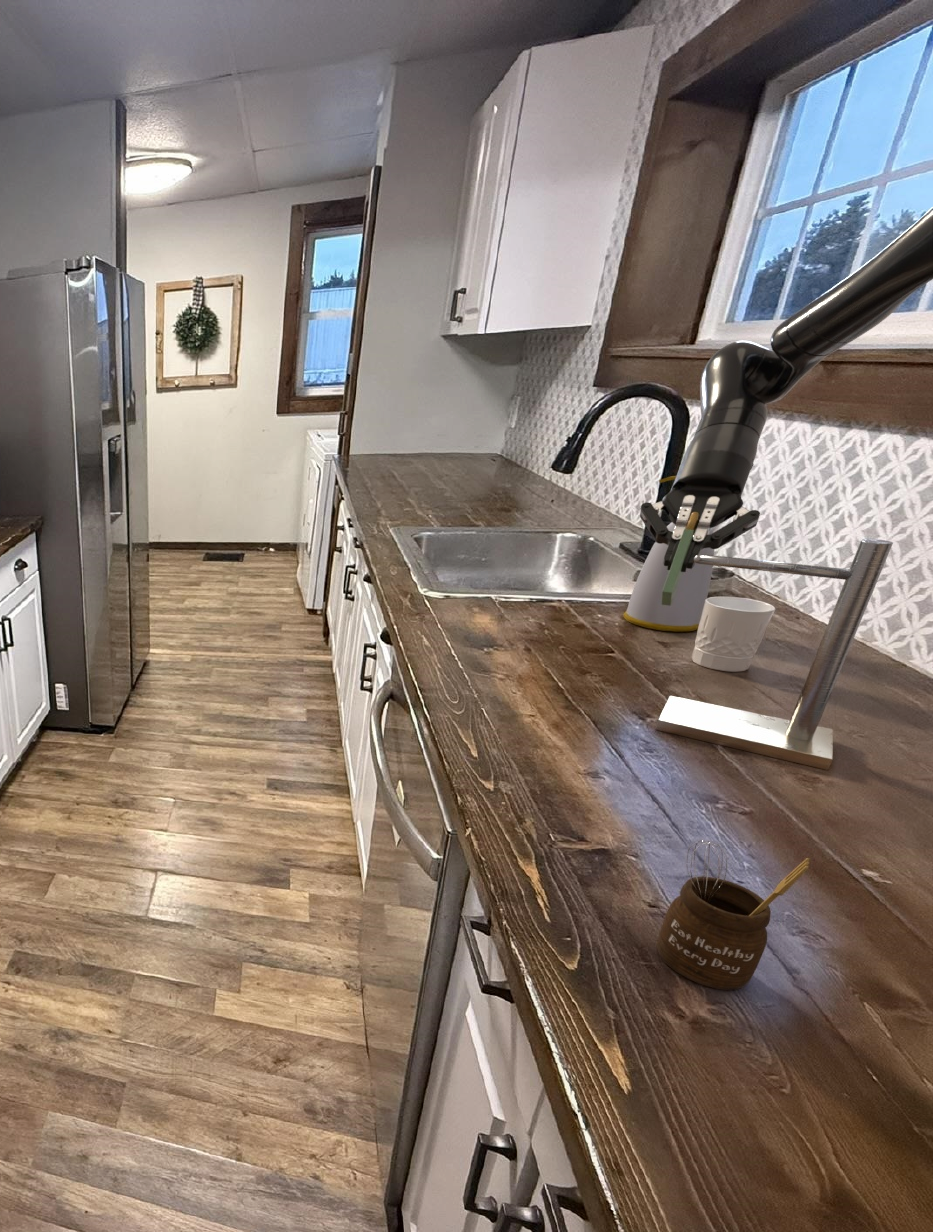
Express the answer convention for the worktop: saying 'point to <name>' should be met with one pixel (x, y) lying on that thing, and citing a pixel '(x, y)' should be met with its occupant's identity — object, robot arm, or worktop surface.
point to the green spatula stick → (679, 561)
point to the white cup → (730, 632)
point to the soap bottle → (686, 600)
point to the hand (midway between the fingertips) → (677, 568)
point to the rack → (802, 732)
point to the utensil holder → (718, 928)
